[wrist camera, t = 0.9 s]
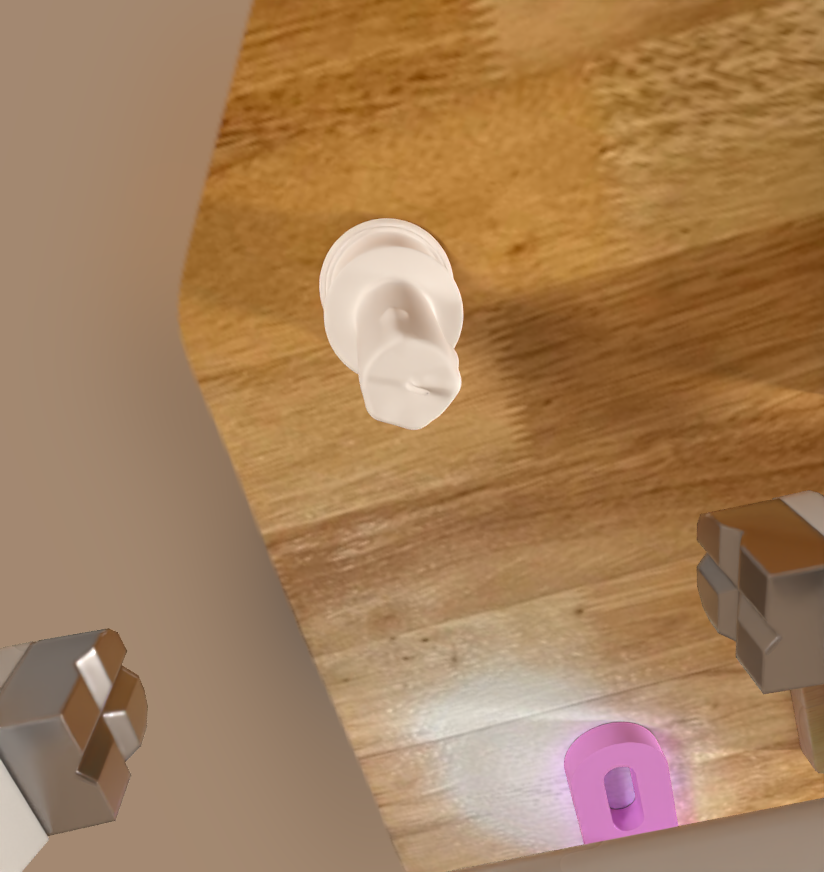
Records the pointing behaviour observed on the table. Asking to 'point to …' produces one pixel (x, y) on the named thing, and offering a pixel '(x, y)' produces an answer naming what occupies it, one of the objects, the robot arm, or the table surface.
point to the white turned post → (394, 319)
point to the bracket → (649, 779)
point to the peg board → (810, 723)
